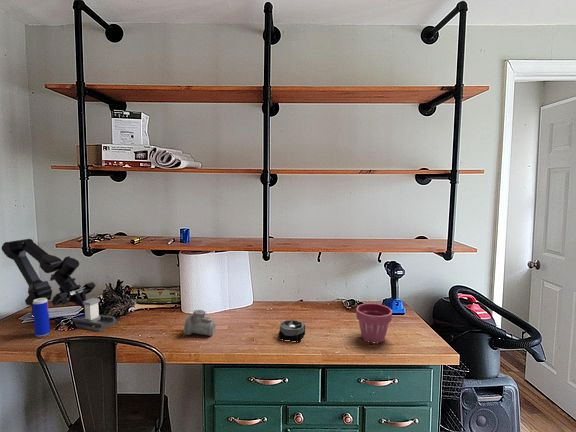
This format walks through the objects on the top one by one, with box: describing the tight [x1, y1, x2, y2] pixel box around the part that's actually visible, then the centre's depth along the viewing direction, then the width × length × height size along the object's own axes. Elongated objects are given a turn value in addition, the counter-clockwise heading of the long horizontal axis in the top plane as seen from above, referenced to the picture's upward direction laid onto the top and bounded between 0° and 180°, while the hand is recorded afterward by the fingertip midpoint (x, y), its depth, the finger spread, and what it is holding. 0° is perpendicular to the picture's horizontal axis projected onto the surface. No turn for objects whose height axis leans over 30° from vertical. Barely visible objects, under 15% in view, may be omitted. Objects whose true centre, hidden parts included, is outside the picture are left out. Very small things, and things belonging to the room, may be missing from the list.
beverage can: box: [33, 298, 51, 338], centre depth 144 cm, size 5×5×15 cm
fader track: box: [72, 314, 118, 333], centre depth 155 cm, size 16×10×3 cm, turn 73°
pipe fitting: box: [183, 309, 216, 337], centre depth 147 cm, size 12×8×10 cm
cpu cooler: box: [278, 319, 306, 342], centre depth 146 cm, size 10×6×10 cm
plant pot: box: [355, 302, 393, 344], centre depth 144 cm, size 14×14×13 cm
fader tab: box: [83, 297, 101, 321], centre depth 155 cm, size 5×5×9 cm
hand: (85, 307), depth 156 cm, fingers closed
